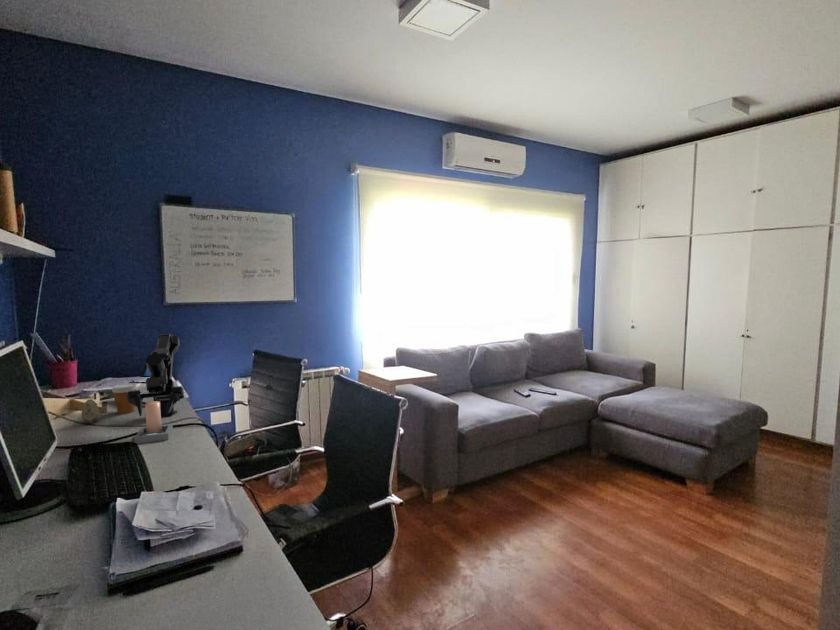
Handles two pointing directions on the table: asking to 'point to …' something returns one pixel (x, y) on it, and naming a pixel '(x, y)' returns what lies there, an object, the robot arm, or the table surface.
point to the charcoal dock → (144, 437)
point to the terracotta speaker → (153, 417)
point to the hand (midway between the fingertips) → (154, 414)
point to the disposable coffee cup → (123, 397)
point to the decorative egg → (90, 411)
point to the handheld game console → (145, 371)
